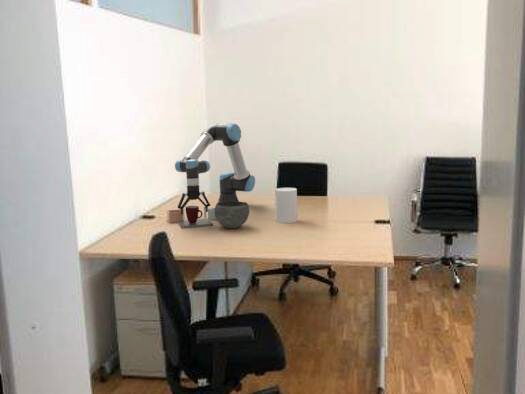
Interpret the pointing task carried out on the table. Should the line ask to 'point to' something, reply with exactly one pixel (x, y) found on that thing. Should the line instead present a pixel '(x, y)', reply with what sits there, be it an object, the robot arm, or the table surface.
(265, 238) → the table surface
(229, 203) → the bowl
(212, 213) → the sage open box
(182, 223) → the slate board
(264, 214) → the table surface
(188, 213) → the mug
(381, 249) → the table surface
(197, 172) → the robot arm
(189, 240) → the table surface
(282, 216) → the canister
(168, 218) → the tan open box
